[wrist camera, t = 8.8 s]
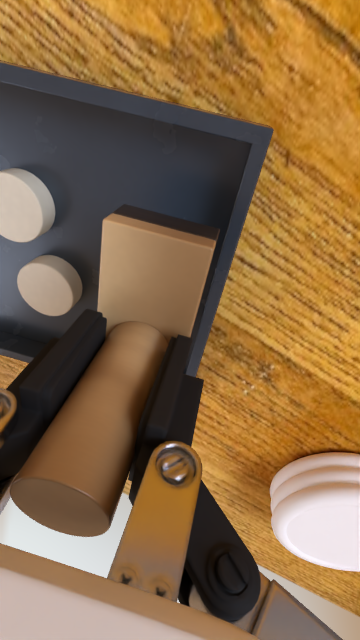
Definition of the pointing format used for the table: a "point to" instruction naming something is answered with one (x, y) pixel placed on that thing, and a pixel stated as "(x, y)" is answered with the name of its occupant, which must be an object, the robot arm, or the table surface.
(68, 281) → the disc
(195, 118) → the tray
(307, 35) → the table surface
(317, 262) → the table surface
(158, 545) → the robot arm
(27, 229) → the disc
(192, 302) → the brush
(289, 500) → the coaster
